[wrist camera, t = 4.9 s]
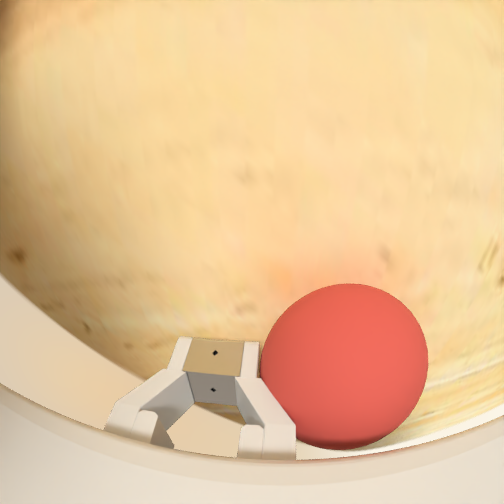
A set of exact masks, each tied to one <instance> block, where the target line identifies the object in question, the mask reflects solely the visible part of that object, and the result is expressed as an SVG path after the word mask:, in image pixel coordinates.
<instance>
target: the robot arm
mask: <svg viewBox="0 0 504 504" xmlns="http://www.w3.org/2000/svg"><path fill="white" fill-rule="evenodd" d="M259 348H260V343H259V342H249V341H230V340H213V339H204V338H196V337H186V336H180V337H179V338H178V340H177V343H176V346H175V348H174V351H173V354H172V356H171V359H170V362H169V364H168V367H167V369H162V370H160V371H159V372H157V373H156V374H155V375H153V376H152V377H150V378H149V379H148V380H146V381H145V382H143V383H142V384H141V385H139V386H138V387H136V388H135V389H133V390H132V391H130V392H129V393H128V394H126V395H125V396H123V397H122V398H120V399H119V400H118V401H116V402H115V404H114V407H113V409H112V411H111V414H110V416H109V418H108V420H107V423H106V425H105V428H104V430H100V429H98V428H94V427H92V426H89V425H86V424H84V423H81V422H78V421H76V420H73V419H71V418H69V417H66V416H64V415H61V414H59V413H57V412H55V411H52V410H50V409H48V408H46V407H43V406H41V405H39V404H37V403H35V402H33V401H31V400H30V399H28V398H25V397H24V396H22V395H20V394H18V393H16V392H14V391H13V390H11V389H9V388H8V387H6V386H4V385H2V384H1V383H0V504H504V415H503V416H501V417H498V418H496V419H494V420H491V421H489V422H487V423H484V424H482V425H479V426H477V427H474V428H471V429H468V430H465V431H463V432H460V433H457V434H454V435H450V436H447V437H444V438H441V439H437V440H434V441H430V442H426V443H422V444H419V445H414V446H410V447H405V448H401V449H396V450H391V451H385V452H379V453H373V454H367V455H359V456H351V457H341V458H329V459H312V460H296V425H295V424H294V422H293V421H292V420H291V419H290V417H289V416H288V415H287V413H286V412H285V411H284V409H283V408H282V406H281V405H280V404H279V402H278V401H277V400H276V399H275V397H274V396H273V395H272V393H271V392H270V391H269V389H268V388H267V386H266V385H265V383H264V382H263V380H262V379H261V378H259ZM194 401H195V402H205V403H216V404H224V405H233V406H237V407H238V409H239V411H240V413H241V415H242V417H243V418H244V420H245V422H246V424H247V425H244V426H243V427H241V432H240V439H239V447H238V453H237V458H232V457H222V456H214V455H206V454H200V453H193V452H187V451H181V450H176V449H174V444H173V443H172V441H171V439H170V437H169V435H168V434H167V432H166V430H167V429H169V427H171V426H172V425H173V423H175V422H176V421H177V420H178V419H179V418H180V417H181V416H182V415H183V414H184V413H185V412H186V411H187V410H188V409H189V408H190V407H191V406H192V405H193V404H194V403H195V402H194Z"/></svg>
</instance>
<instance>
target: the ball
mask: <svg viewBox="0 0 504 504" xmlns="http://www.w3.org/2000/svg"><path fill="white" fill-rule="evenodd" d="M427 371H428V350H427V345H426V341H425V337H424V334H423V332H422V329H421V327H420V325H419V323H418V322H417V320H416V318H415V317H414V316H413V314H412V313H411V312H410V310H409V309H408V308H407V307H406V306H405V305H404V304H403V303H402V302H401V301H399V300H398V299H396V298H395V297H393V296H392V295H390V294H389V293H387V292H385V291H382V290H380V289H377V288H374V287H371V286H367V285H361V284H338V285H332V286H328V287H324V288H321V289H318V290H316V291H313V292H311V293H309V294H308V295H306V296H304V297H302V298H301V299H299V300H298V301H296V302H295V303H294V304H293V305H291V306H290V307H289V308H288V309H287V310H286V311H285V312H284V313H283V314H282V315H281V316H280V318H279V319H278V320H277V322H276V323H275V324H274V326H273V327H272V329H271V331H270V333H269V335H268V337H267V339H266V342H265V345H264V348H263V351H262V354H261V361H260V378H261V379H262V380H263V382H264V383H265V385H266V386H267V388H268V389H269V391H270V392H271V393H272V395H273V396H274V397H275V399H276V400H277V401H278V402H279V404H280V405H281V406H282V408H283V409H284V411H285V412H286V413H287V415H288V416H289V417H290V419H291V420H292V421H293V422H294V424H295V425H296V438H297V439H298V440H300V441H302V442H304V443H306V444H309V445H312V446H315V447H319V448H323V449H332V450H347V449H354V448H358V447H362V446H366V445H368V444H371V443H374V442H376V441H378V440H380V439H382V438H383V437H385V436H386V435H388V434H389V433H391V432H392V431H394V430H395V429H396V428H397V427H398V426H399V425H400V424H401V423H402V422H403V421H404V420H405V419H406V418H407V417H408V416H409V415H410V413H411V412H412V410H413V409H414V408H415V406H416V404H417V402H418V400H419V398H420V396H421V394H422V392H423V389H424V386H425V382H426V378H427Z"/></svg>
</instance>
